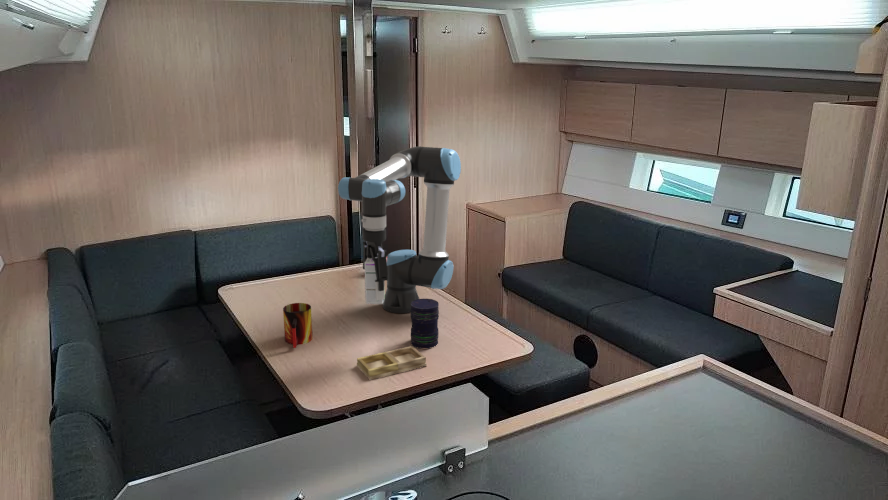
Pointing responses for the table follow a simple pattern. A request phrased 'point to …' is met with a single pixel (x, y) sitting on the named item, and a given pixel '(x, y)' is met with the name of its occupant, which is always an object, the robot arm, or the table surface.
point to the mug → (297, 323)
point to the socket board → (391, 362)
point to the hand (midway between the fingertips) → (375, 295)
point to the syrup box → (371, 283)
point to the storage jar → (424, 323)
